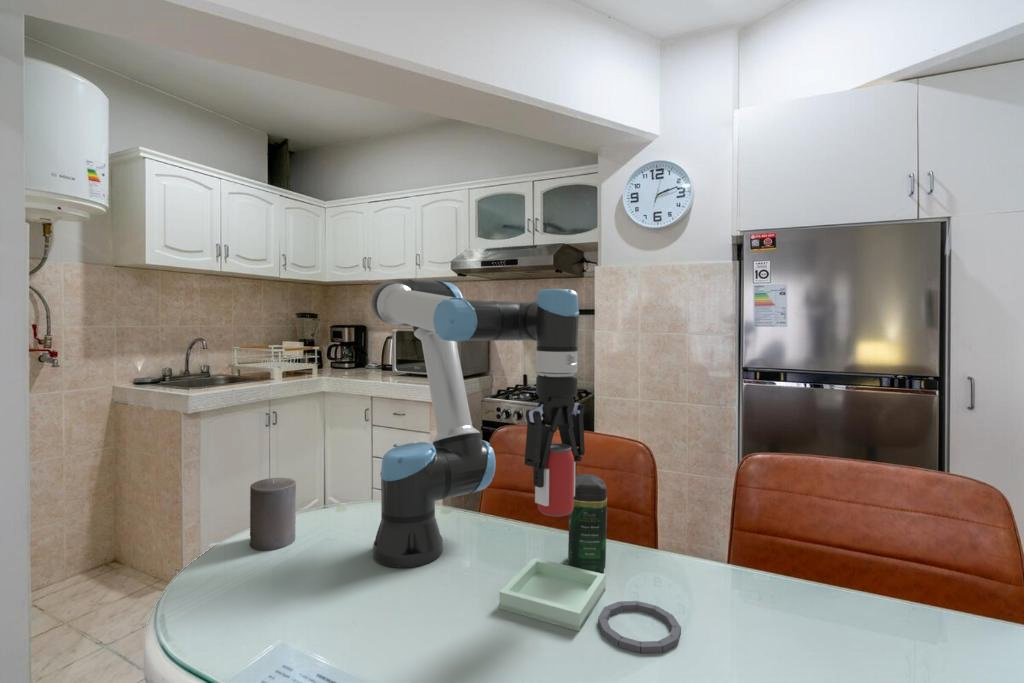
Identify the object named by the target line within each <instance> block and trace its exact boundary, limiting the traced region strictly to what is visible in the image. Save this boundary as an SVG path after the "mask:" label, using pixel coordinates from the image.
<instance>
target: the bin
mask: <svg viewBox="0 0 1024 683" xmlns="http://www.w3.org/2000/svg"><path fill="white" fill-rule="evenodd" d="M606 576H607V574H605V573H601V572H593V571H589V570H584V569H580V568H576V567H571V566H570V565H566V564H562V563H558V562H554V561H550V560H544V559H540V558H536V557H534V558H532V559H531V560H530V561H529V562H528V563H527V564H526V565H525V566H524V567H523V568H522V569H521V570H520V571H519V572H518V573H517V574H516V575H515V576H514V577H513V578H512V579H511V580H509V582H507V584H506V585H505V586H504V587H502V589H501V590H500V591H499V609H501V610H503V611H507V612H512V613H514V614H518V615H521V616H524V617H528V618H532V619H535V620H539V621H542V622H545V623H549V624H553V625H556V626H559V627H564V628H566V629H570V630H574V631H576V632H581V630H582V628H583V626H584V625H585V623H586V622H587V621H588V619H589V618H590V616H591V614H592V613H593V611H594V609H595V607H596V606H597V604H598V603H599V601H600V600H601V598H602V597H603V594H604V593H605V592H606V580H607V579H606V578H607V577H606Z"/></svg>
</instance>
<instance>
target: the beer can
mask: <svg viewBox="0 0 1024 683" xmlns="http://www.w3.org/2000/svg"><path fill="white" fill-rule="evenodd" d="M539 462H541V461H540V460H539ZM546 468H547V469H549V506H544V505H541V504H538V503H537V510H538V511H539V512H540V513H541V514H543V515H544V516H548V517H554V518H555V517H556V518H557V517H566V516H569V514H570V513H571V512H572V511H573V509H574V456H573V453H572V451H571V446H569V445H566V444H562V442H561V443H558V442H552V443H551V447H550V452H549V456H548V460H547V465H546Z"/></svg>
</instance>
